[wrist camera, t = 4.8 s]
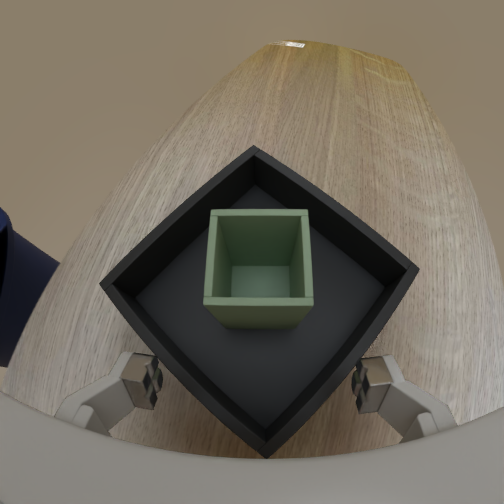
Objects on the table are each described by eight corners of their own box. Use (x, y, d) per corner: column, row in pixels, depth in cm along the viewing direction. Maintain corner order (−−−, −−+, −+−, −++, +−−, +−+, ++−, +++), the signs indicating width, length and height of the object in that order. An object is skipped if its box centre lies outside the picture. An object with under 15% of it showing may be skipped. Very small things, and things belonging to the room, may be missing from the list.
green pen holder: (225, 328, 20) (202, 305, 13) (228, 263, 22) (210, 209, 15) (295, 329, 20) (313, 305, 12) (293, 264, 22) (307, 209, 14)
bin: (126, 299, 22) (98, 283, 17) (255, 179, 26) (253, 144, 22) (266, 440, 17) (266, 459, 13) (394, 287, 21) (420, 268, 17)
